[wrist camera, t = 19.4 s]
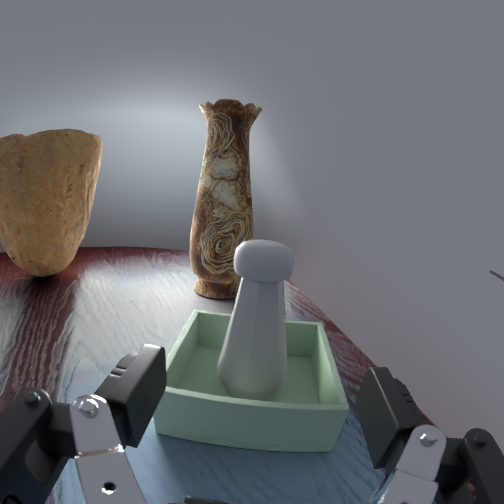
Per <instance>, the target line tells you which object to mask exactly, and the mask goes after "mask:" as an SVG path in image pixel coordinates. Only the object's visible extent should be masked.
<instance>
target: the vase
mask: <svg viewBox="0 0 504 504" xmlns="http://www.w3.org/2000/svg"><path fill="white" fill-rule="evenodd" d="M199 106H200V108H201V110H202V112H203V114H204V117H205V119H206V121H207V138H206V145H205V151H204V158H203V164H202V169H201V175H200V180H199V186H198V192H197V198H196V203H195V209H194V215H193V221H192V227H191V234H190V263H191V267H192V271H193V272H194V274H195V275H196V276H197V277H198V281H197V283H196V284H195V286H194V290H195V291H196V292H197V293H198V294H200V295H202V296H205V297H209V298H215V299H230V298H236V297H237V293H238V289H239V285H240V281H241V276H239V275H237V273H236V272H235V270H234V255H235V251H236V248H237V247H238V246H239V245H240V244H241V243H242V242H244V241H249V240H254V229H253V214H252V198H251V187H250V186H251V182H250V164H249V132H250V128H251V126H252V124H253V123H254V121H255V119H256V118H257V116H258V115H259V113H260V112H261V110H262V108H261V107H257V108H255V105H254V104H253V103H249V104H246V105H243V104H242V103H240V102H239V101H238V100H234V99H219V100H217V101H216V103H215V104H212V103H210V102H206V103H205V104H204V106H203V105H202V104H201V105H199Z"/></svg>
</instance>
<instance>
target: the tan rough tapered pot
mask: <svg viewBox="0 0 504 504" xmlns="http://www.w3.org/2000/svg"><path fill="white" fill-rule="evenodd" d="M102 148H103V145H102V140H101V138H100V137H99V136H97V135H93V134H88V133H85V132H83V131H81V130H73V129H62V130H48V131H42V132H38V133H35V134H32V135H29V136H24V135H22V134H12V135H9V136H6V137H2V138H0V240H1V243H2V244H3V246H4V248H5V251H6V252H7V254H8V255H9V257H10V258H11V259H12V261H13V262H14V263H15V264H16V265H18V266H19V267H20V268H22V269H24V270H25V271H26V272H28V273H29V274H32V275H35V276H39V277H45V276H48V275H52V274H56V273H60V272H61V271H63V270H64V269H65V268H67V266H68V265H69V264H70V263H71V261H72V260H73V259H74V257H75V254H76V251H77V249H78V247H79V245H80V243H81V240H82V239H83V238H84V234H85V232H86V229H87V226H88V222H89V218H90V214H91V208H92V204H93V202H94V192H95V187H96V183H97V178H98V175H99V168H100V162H101V156H102Z"/></svg>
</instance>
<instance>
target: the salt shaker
mask: <svg viewBox="0 0 504 504" xmlns="http://www.w3.org/2000/svg"><path fill="white" fill-rule="evenodd" d="M293 265H294V252H293V251H292V250H291V249H290V248H289V247H287V246H286V245H284V244H281V243H278V242H274V241H269V240H249V241H244V242H242V243H241V244H240V245H239V246H238V247H237V248H236V251H235V255H234V270H235V272H236V273H237V275H239V276H241V281H240V285H239V289H238V293H237V297H236V301H235V305H234V308H233V312H232V315H231V319H230V322H229V326H228V329H227V333H226V336H225V340H224V343H223V347H222V351H221V354H220V358H219V361H218V365H217V367H218V372H219V375H220V379H221V381H222V383H223V385H224V387H225V389H226V391H227V394H228V395H230V396H232V397H233V398H240V399H248V400H258V401H267V400H268V398H269V397H270V396H271V395H272V394H273V392H274V391H275V390H276V389H277V388H278V387H279V386H280V385H281V384H282V383H283V382H284V380H285V378H286V373H287V345H286V322H285V301H284V282H283V281H284V280H286V279H289V278H290V276H291V274H292V270H293Z"/></svg>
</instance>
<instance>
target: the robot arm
mask: <svg viewBox="0 0 504 504" xmlns="http://www.w3.org/2000/svg"><path fill="white" fill-rule="evenodd" d="M490 273H492V274H493V275H495V276H497V277H498V278H500V279H502V280H503V281H504V278H503V277H502V276H500V275H498V274H496V273H495V272H492V271H490ZM166 384H167V372H166V358H165V349H164V347H160V346H155V345H150V344H144V346H143V347H142V348H141V350H140V351H139V352H138V354H134V353H131V354H129V355H127V356H125V357H124V358H122V359H121V360H120V361H119V363H118V364H117V365H116V368H114V369H113V370H112V371H111V374H109V375H108V376H107V378H106V379H105V380H104V382H103V383H102V384H101V385H100V387H99V388H98V389H97V390H96V392H95V393H94V394H93V395H85V396H81V397H78V398H77V399H75V400H74V401H73V402H72V403H71V404H66V403H58V402H51V400H50V397H49V395H48V393H47V392H46V391H44V390H43V389H40V388H28V389H25V390H23V391H21V392H20V393H19V394H18V395H17V396H16V397H15V398H14V399H13V401H12V402H11V403H10V404H9V405H8V406H7V407H6V408H5V409H4V411H3V412H2V413H1V414H0V504H45V502H46V500H47V498H48V496H49V494H50V492H51V491H52V489H53V487H54V485H55V483H56V481H57V479H58V478H59V476H60V474H61V472H62V470H63V469H64V467H65V465H66V463H67V461H68V460H69V458H72V459H75V463H76V468H77V472H78V476H79V480H80V484H81V487H82V491H83V494H84V498H85V501H86V504H147V501H146V499H145V497H144V495H143V493H142V491H141V489H140V487H139V485H138V482H137V480H136V478H135V475H134V473H133V471H132V468H131V466H130V464H129V461H128V459H127V456H126V453H125V451H124V450H125V448H126V446H127V445H128V446H131V447H135V448H137V447H138V445H139V443H140V441H141V439H142V437H143V434H144V432H145V430H146V428H147V426H148V424H149V422H150V420H151V418H152V416H153V414H154V412H155V410H156V408H157V406H158V404H159V402H160V400H161V398H162V396H163V394H164V392H165V389H166ZM356 411H357V414H358V417H359V420H360V424H361V427H362V430H363V433H364V437H365V440H366V443H367V447H368V450H369V454H370V457H371V460H372V464H373V468H374V469H381V468H385V470H386V473H385V475H384V476H383V478H382V479H381V481H380V483H379V484H378V486H377V488H376V489H375V491H374V493H373V494H372V496H371V498H370V499H369V501H368V502H367V504H432V502H433V500H435V503H436V504H504V456H503V454H502V452H501V450H500V448H499V447H498V445H497V443H496V442H495V440H494V438H493V437H492V435H491V434H490V433H489V432H487V431H486V430H483V429H479V428H475V429H471V430H469V431H468V432H467V433H466V435H465V436H464V438H463V439H457V438H456V439H455V438H446V436H445V434H444V433H443V431H442V430H440V429H439V428H437V427H435V426H432V425H427V424H426V422H425V420H424V418H423V416H422V415H421V413H420V411H419V409H418V407H417V405H416V404H415V402H414V401H413V398H412V396H410V393H409V391H408V389H407V388H406V386H405V385H404V384H402V382H400V381H399V380H398V379H393V377H392V375H391V374H390V372H389V370H388V368H387V367H369V368H368V369H367V370H366V372H365V375H364V378H363V381H362V384H361V387H360V389H359V392H358V395H357V398H356ZM32 444H33V445H32ZM30 447H31V448H30ZM28 450H29V451H28ZM26 453H27V454H26ZM469 478H471V481H472V483H473V485H474V488H475V490H476V499H475V501H474V499H473V497H472V494H471V492H470V489H469V487H468V484H467V482H466V481H467V480H468V479H469ZM169 504H229V503H226V502H223V501H218V500H211V499H205V498H200V497H194V496H189V495H186V498H185V501H184V503H169Z"/></svg>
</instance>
